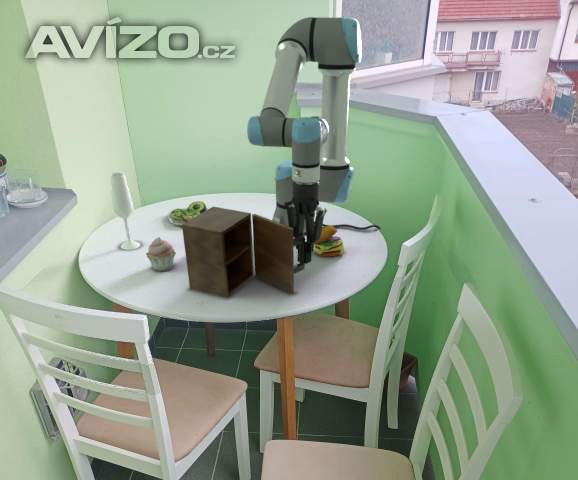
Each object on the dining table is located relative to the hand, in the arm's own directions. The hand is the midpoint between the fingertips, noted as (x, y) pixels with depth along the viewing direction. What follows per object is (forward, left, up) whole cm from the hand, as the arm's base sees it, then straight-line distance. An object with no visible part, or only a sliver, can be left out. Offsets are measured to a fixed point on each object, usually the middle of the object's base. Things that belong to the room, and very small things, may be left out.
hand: (304, 261), depth 168 cm
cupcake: (+41, -21, -7) cm, 47 cm away
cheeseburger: (-13, -19, -7) cm, 24 cm away
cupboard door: (+6, -2, -7) cm, 10 cm away
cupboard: (+24, -6, -7) cm, 26 cm away
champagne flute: (+51, -41, -7) cm, 66 cm away
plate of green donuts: (+28, -61, -7) cm, 68 cm away
